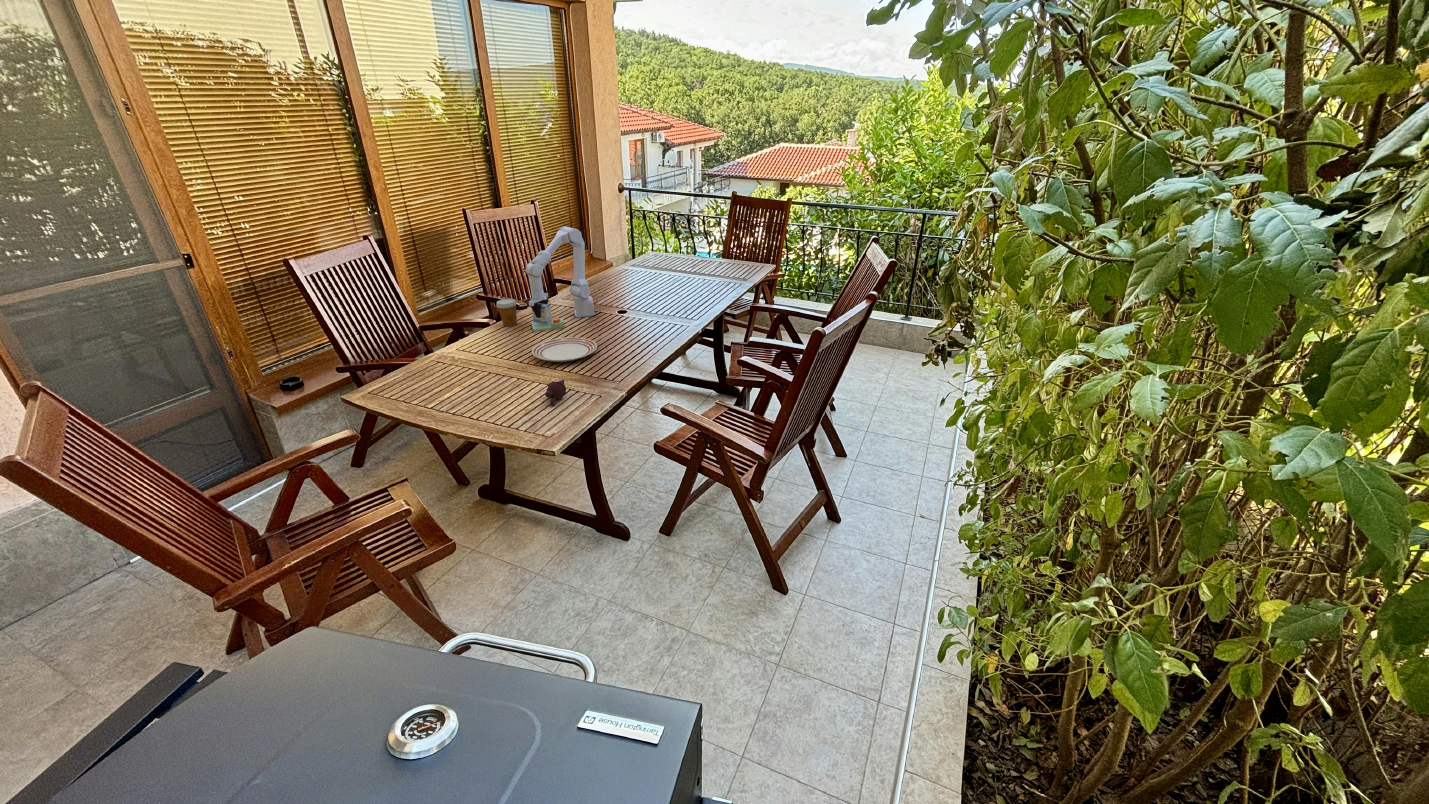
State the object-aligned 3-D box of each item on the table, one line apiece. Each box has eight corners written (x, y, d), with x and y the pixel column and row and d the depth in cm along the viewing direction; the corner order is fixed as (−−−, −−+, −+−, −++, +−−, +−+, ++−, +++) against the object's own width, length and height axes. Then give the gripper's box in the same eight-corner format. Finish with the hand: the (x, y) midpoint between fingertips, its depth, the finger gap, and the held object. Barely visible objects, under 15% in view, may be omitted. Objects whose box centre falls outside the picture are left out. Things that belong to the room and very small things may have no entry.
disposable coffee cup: (523, 321, 299) (519, 298, 293) (515, 328, 290) (511, 304, 285) (505, 321, 300) (500, 298, 294) (497, 327, 291) (492, 304, 286)
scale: (561, 320, 299) (560, 314, 297) (564, 328, 288) (563, 322, 287) (531, 324, 295) (530, 318, 293) (533, 332, 284) (532, 326, 283)
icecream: (551, 373, 225) (535, 394, 213) (568, 370, 223) (553, 390, 211) (558, 389, 229) (543, 410, 216) (575, 385, 227) (561, 407, 214)
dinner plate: (575, 338, 276) (574, 331, 275) (610, 353, 259) (609, 346, 257) (521, 355, 259) (519, 348, 258) (554, 372, 242) (553, 365, 240)
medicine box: (533, 322, 290) (530, 305, 286) (538, 319, 294) (535, 302, 289) (547, 324, 288) (545, 306, 284) (552, 320, 291) (550, 303, 287)
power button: (559, 320, 290) (559, 317, 290) (560, 322, 288) (559, 319, 287) (553, 321, 290) (552, 318, 289) (553, 323, 287) (553, 320, 286)
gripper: (536, 293, 276) (541, 321, 282) (551, 284, 288) (556, 311, 295) (522, 292, 278) (527, 320, 284) (538, 284, 290) (543, 310, 296)
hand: (541, 315), depth 289 cm, fingers closed on medicine box, 4 cm apart
